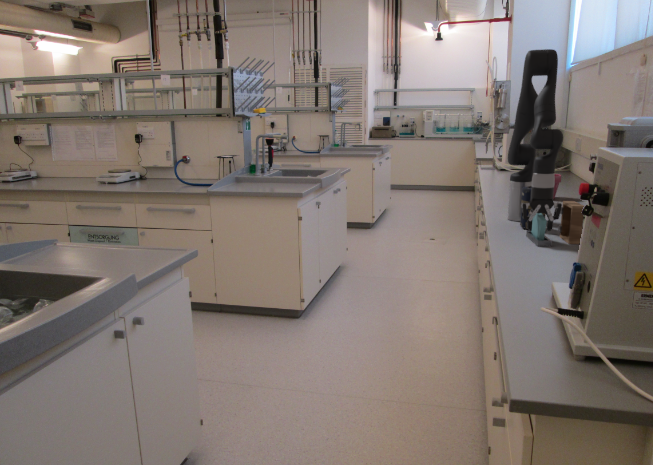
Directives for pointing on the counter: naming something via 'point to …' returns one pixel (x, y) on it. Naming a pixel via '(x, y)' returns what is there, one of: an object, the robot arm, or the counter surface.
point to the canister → (525, 199)
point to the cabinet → (571, 222)
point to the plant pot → (556, 183)
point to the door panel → (539, 226)
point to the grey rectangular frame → (539, 242)
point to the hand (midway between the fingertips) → (539, 230)
